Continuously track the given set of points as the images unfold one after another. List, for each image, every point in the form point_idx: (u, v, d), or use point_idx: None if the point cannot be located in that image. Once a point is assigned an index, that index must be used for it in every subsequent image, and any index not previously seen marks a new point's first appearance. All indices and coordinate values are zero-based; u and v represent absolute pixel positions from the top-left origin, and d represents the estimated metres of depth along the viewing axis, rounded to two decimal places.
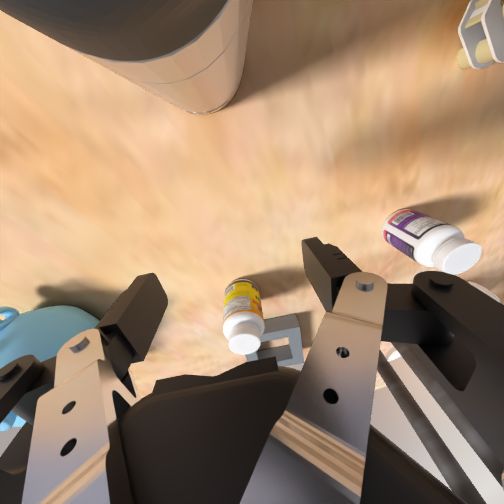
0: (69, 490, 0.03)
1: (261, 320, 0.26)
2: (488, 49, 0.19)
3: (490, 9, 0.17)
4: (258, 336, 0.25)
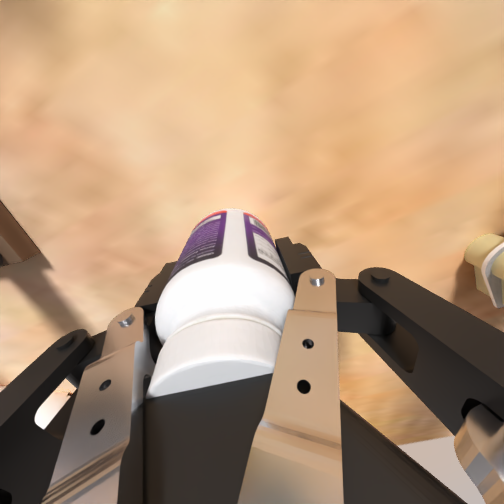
0: (87, 477, 0.03)
1: None
2: None
3: None
4: None
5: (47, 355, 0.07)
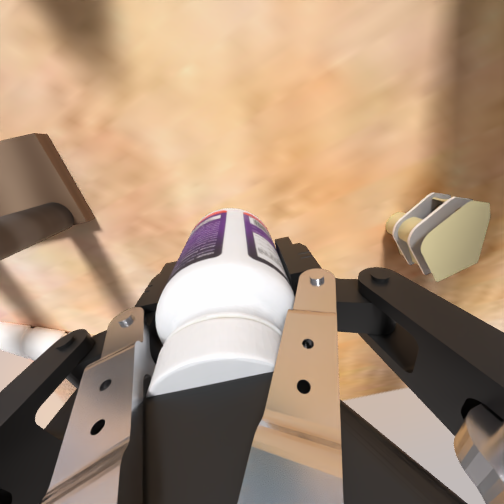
0: (88, 477, 0.03)
1: None
2: (417, 222, 0.19)
3: (457, 200, 0.18)
4: None
5: (47, 355, 0.07)
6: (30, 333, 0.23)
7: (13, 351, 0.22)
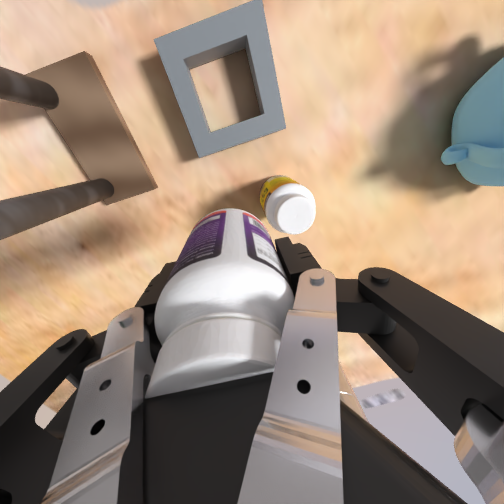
0: (88, 477, 0.03)
1: (270, 224, 0.23)
2: None
3: None
4: (279, 226, 0.21)
5: (47, 355, 0.07)
6: None
7: None
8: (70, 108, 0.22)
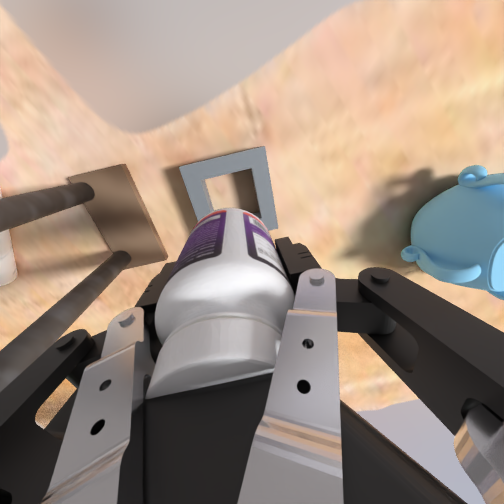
0: (88, 477, 0.03)
1: None
2: None
3: None
4: None
5: (47, 355, 0.07)
6: None
7: None
8: (103, 201, 0.27)
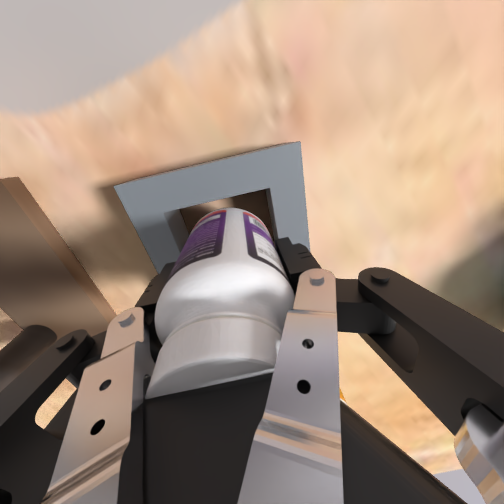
0: (88, 477, 0.03)
1: None
2: None
3: None
4: None
5: (47, 355, 0.07)
6: None
7: None
8: None
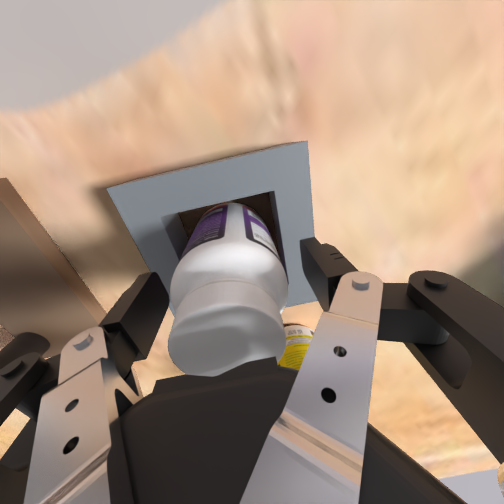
0: (70, 489, 0.03)
1: None
2: None
3: None
4: None
5: None
6: None
7: None
8: None
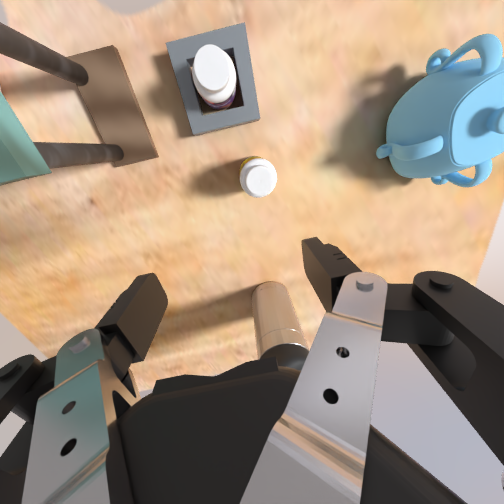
0: (69, 490, 0.03)
1: (243, 189, 0.31)
2: None
3: None
4: (248, 188, 0.29)
5: None
6: None
7: None
8: (96, 86, 0.29)
